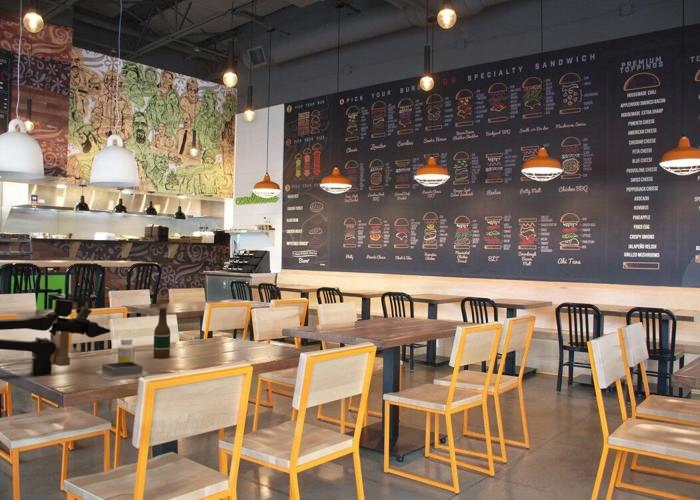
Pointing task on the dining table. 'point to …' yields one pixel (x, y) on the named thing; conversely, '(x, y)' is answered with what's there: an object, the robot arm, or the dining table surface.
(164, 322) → the beer bottle
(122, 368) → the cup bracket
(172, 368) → the dining table surface
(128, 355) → the supplement bottle
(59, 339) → the wooden block
